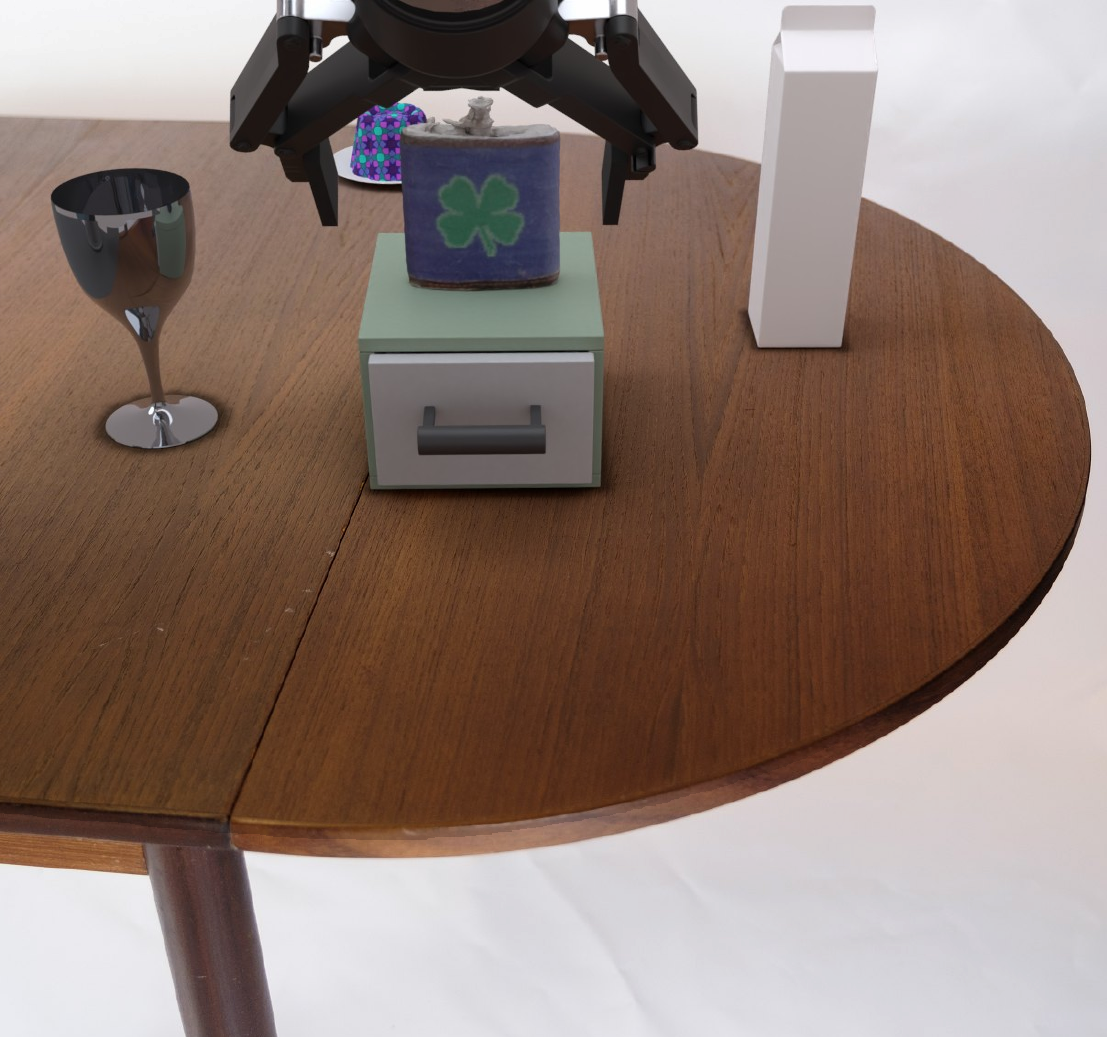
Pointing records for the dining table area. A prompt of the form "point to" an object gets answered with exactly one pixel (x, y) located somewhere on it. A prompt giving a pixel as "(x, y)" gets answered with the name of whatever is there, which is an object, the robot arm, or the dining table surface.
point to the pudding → (378, 144)
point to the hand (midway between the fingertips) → (470, 199)
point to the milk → (812, 173)
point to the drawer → (482, 417)
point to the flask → (480, 202)
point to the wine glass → (136, 281)
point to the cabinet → (483, 326)
